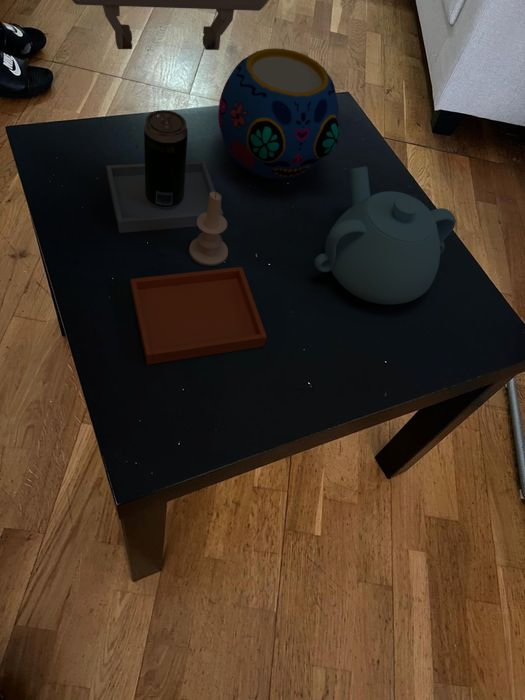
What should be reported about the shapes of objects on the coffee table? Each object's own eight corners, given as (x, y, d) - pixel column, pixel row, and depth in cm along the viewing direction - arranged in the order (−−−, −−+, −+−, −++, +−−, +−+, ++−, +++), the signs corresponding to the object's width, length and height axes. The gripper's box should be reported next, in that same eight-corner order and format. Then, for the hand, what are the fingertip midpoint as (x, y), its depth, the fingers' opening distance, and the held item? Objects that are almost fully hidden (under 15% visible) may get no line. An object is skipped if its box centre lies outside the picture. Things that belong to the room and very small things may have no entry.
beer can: (186, 210, 75) (191, 135, 66) (147, 212, 74) (146, 135, 64) (180, 184, 78) (184, 109, 68) (142, 185, 77) (141, 108, 67)
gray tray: (119, 233, 72) (118, 221, 70) (107, 177, 77) (106, 165, 76) (221, 224, 76) (223, 213, 74) (203, 172, 81) (204, 160, 80)
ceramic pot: (232, 206, 78) (246, 112, 66) (201, 130, 87) (208, 35, 75) (339, 196, 84) (371, 107, 71) (300, 125, 92) (322, 35, 80)
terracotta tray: (146, 365, 61) (146, 355, 60) (130, 289, 67) (130, 278, 65) (263, 346, 66) (266, 337, 64) (239, 277, 71) (242, 266, 69)
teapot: (330, 327, 69) (362, 260, 59) (278, 218, 79) (297, 144, 68) (457, 303, 75) (505, 239, 65) (394, 205, 85) (428, 135, 74)
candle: (220, 235, 75) (229, 174, 66) (232, 263, 72) (243, 204, 64) (184, 241, 73) (188, 179, 64) (195, 269, 71) (201, 209, 62)
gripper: (50, -111, 42) (71, 63, 53) (291, -88, 48) (264, 63, 60) (42, -141, 45) (63, 29, 56) (269, -116, 51) (248, 32, 63)
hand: (168, 47), depth 58 cm, fingers open, 8 cm apart
